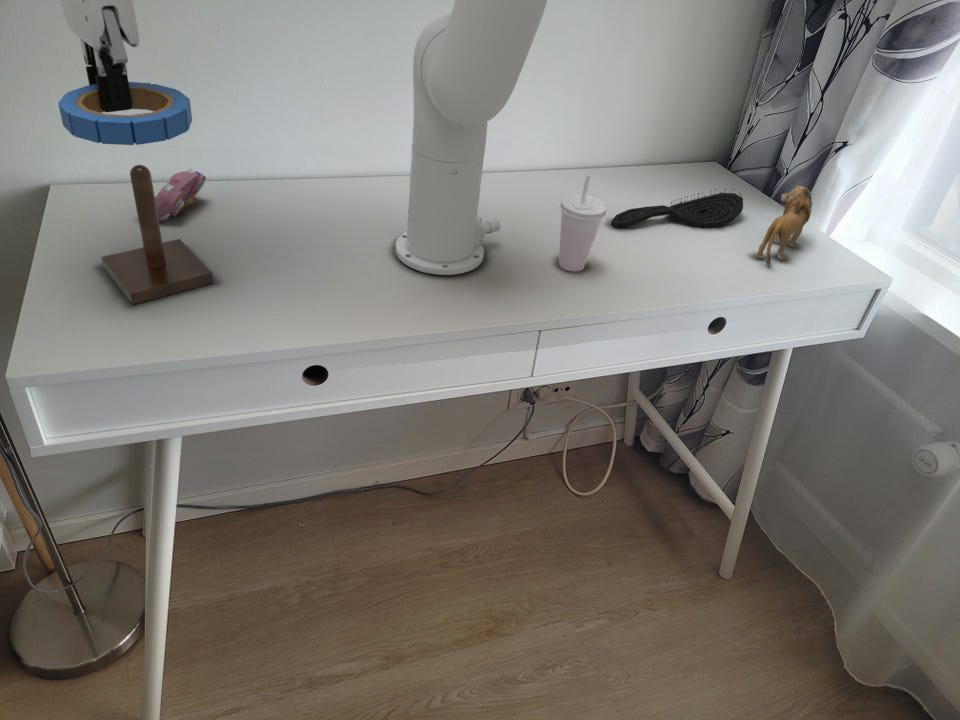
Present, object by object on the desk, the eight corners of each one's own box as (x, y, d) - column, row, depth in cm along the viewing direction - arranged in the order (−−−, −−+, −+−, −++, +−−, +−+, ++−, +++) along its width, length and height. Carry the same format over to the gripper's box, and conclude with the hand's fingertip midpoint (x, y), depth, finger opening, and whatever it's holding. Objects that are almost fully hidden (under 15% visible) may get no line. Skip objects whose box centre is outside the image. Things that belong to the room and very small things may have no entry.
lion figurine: (769, 228, 126) (788, 178, 120) (801, 238, 124) (821, 187, 118) (750, 262, 115) (770, 209, 109) (785, 274, 113) (807, 220, 108)
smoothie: (541, 265, 107) (557, 173, 99) (562, 249, 112) (580, 160, 103) (580, 281, 105) (600, 188, 96) (600, 264, 109) (621, 174, 101)
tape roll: (164, 97, 90) (161, 77, 89) (210, 134, 83) (207, 112, 81) (49, 110, 83) (44, 89, 81) (88, 152, 75) (83, 129, 74)
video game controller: (166, 235, 106) (180, 198, 102) (136, 216, 105) (150, 179, 101) (200, 206, 113) (215, 171, 109) (173, 189, 113) (188, 153, 109)
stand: (181, 249, 100) (165, 143, 91) (213, 283, 94) (199, 174, 86) (103, 267, 95) (78, 157, 86) (132, 305, 89) (108, 190, 80)
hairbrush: (602, 198, 121) (726, 180, 129) (598, 219, 123) (720, 200, 132) (629, 222, 115) (757, 202, 124) (624, 243, 117) (750, 222, 126)
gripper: (147, -62, 72) (173, 125, 83) (91, -91, 81) (121, 80, 92) (64, -62, 68) (102, 134, 79) (14, -93, 77) (55, 87, 88)
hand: (112, 104), depth 86 cm, fingers closed on tape roll, 2 cm apart
